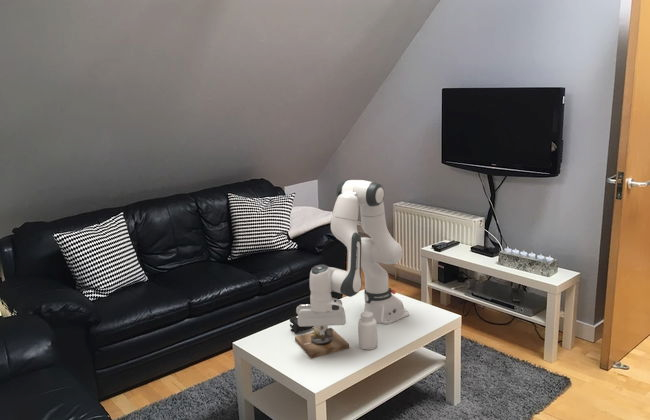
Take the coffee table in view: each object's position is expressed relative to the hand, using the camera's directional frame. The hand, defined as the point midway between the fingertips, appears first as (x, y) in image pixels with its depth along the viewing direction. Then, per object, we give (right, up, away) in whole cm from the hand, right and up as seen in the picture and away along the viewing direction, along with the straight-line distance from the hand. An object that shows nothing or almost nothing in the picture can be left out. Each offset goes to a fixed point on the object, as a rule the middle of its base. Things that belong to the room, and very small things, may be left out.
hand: (322, 334), depth 237 cm
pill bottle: (+20, -7, +7) cm, 22 cm away
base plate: (0, -7, +10) cm, 12 cm away
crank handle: (+1, -3, +4) cm, 6 cm away
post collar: (0, -5, +9) cm, 10 cm away
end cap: (-9, -4, +24) cm, 26 cm away
